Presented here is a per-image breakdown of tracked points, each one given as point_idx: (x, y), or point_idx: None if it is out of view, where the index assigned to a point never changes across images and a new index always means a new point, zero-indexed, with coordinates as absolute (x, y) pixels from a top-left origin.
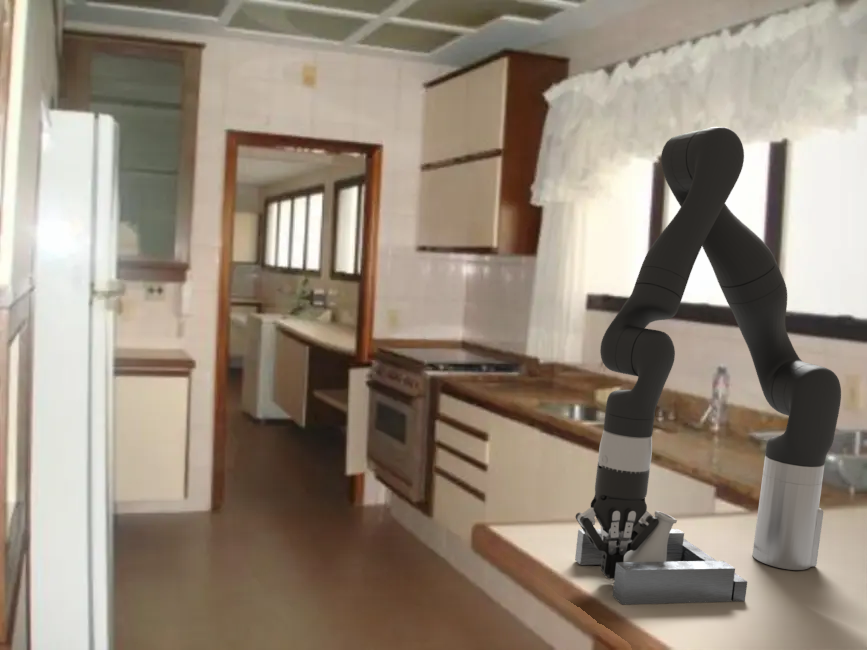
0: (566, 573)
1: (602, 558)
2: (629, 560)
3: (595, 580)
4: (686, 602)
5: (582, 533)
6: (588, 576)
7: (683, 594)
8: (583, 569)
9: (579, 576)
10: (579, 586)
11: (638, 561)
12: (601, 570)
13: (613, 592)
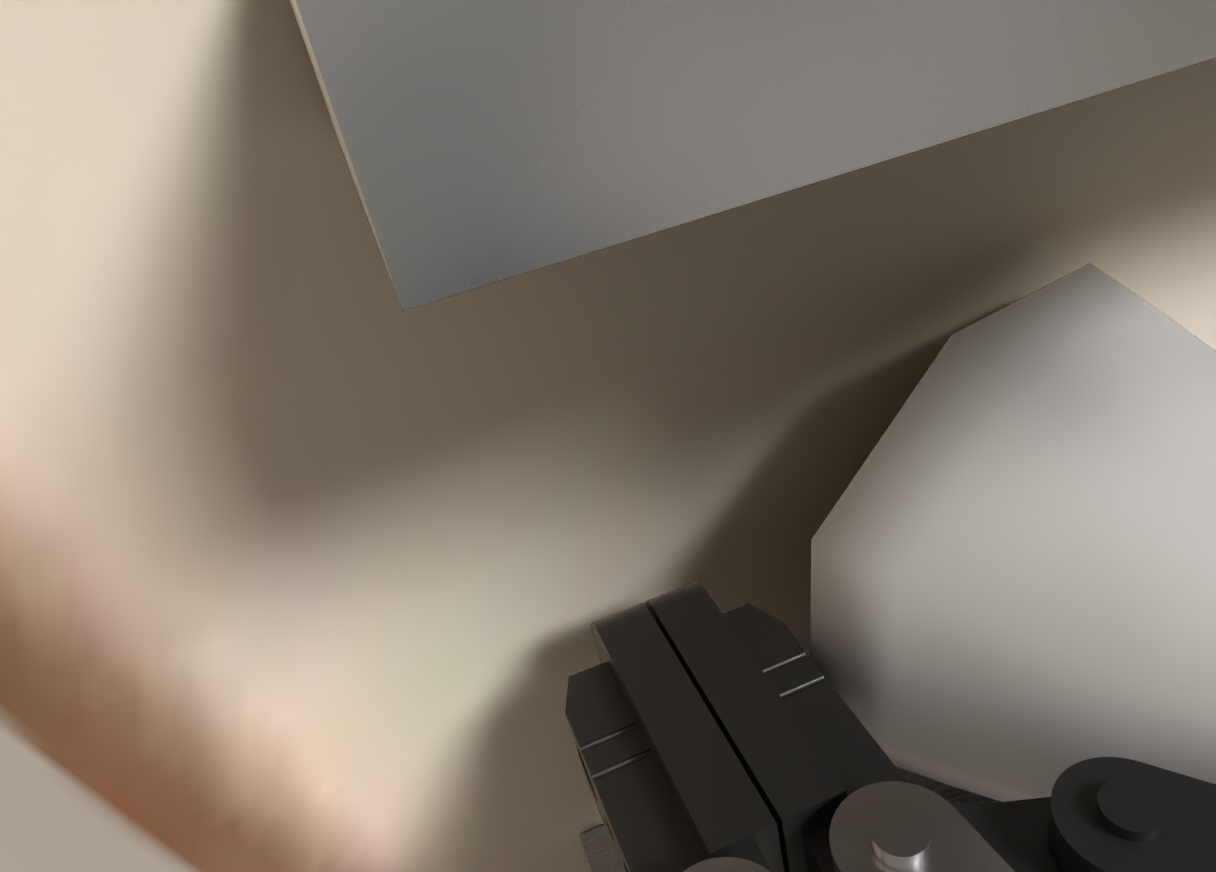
0: (112, 475)
1: (612, 827)
2: (941, 744)
3: (487, 565)
4: None
5: (377, 232)
6: (419, 480)
7: None
8: (378, 255)
9: (300, 516)
10: (283, 772)
11: (1016, 794)
12: (568, 685)
13: (593, 867)
